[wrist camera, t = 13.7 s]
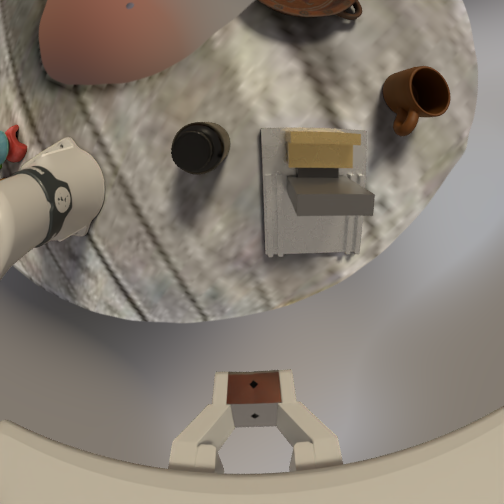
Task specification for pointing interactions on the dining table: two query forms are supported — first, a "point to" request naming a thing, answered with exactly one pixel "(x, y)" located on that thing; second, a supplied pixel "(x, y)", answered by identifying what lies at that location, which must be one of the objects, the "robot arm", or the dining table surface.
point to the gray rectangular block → (328, 194)
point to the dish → (315, 7)
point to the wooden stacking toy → (11, 147)
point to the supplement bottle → (200, 147)
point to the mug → (415, 96)
